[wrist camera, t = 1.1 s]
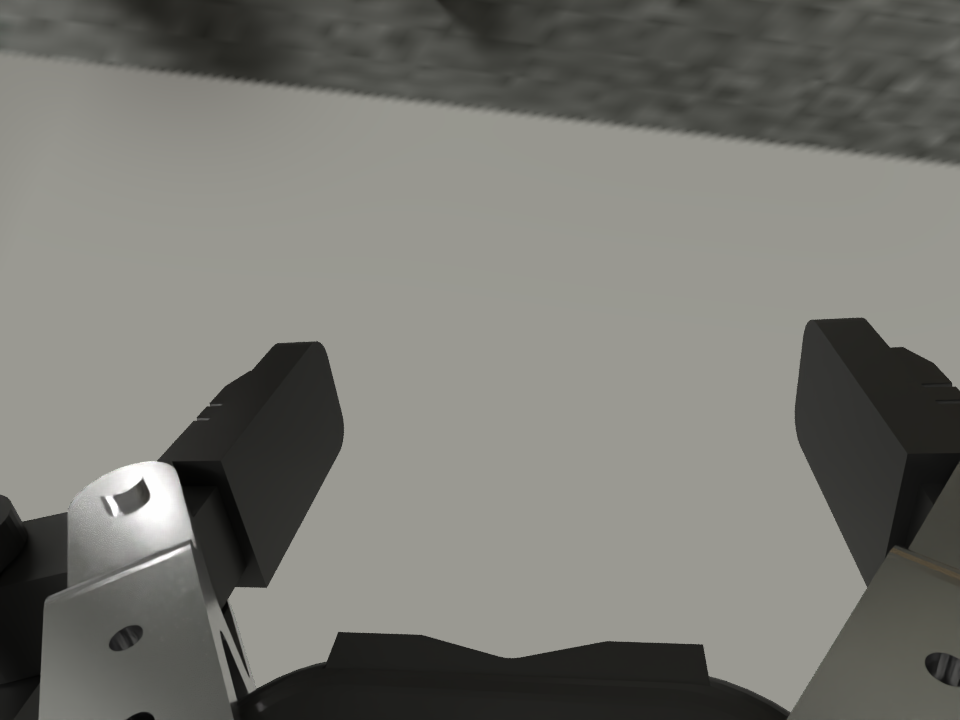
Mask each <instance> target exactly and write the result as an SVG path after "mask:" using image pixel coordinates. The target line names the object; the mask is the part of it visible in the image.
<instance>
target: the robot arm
mask: <svg viewBox="0 0 960 720" xmlns="http://www.w3.org/2000/svg"><path fill="white" fill-rule="evenodd" d="M795 425H796V432H797V437H798V441H799V444H800V446H801V448H802V451H803V452H804V454H805V457H806V459H807V461H808V463H809V465H810V467H811V470H812V472H813V474H814V476H815V478H816V480H817V482H818V484H819V486H820V489H821V491H822V493H823V495H824V497H825V499H826V501H827V503H828V505H829V507H830V509H831V512H832V514H833V516H834V518H835V520H836V522H837V524H838V526H839V529H840V531H841V533H842V535H843V537H844V539H845V541H846V543H847V545H848V547H849V549H850V552H851V554H852V556H853V558H854V560H855V562H856V564H857V567H858V568H859V571H860V573H861V575H862V577H863V579H864V581H865V583H866V586H867V589H866V591H865V592H864V594H863V595H862V597H861V599H860V601H859V602H858V604H857V605H856V607H855V609H854V610H853V612H852V613H851V615H850V617H849V618H848V620H847V622H846V623H845V625H844V627H843V628H842V630H841V631H840V633H839V635H838V636H837V638H836V640H835V641H834V643H833V644H832V646H831V648H830V650H829V651H828V653H827V654H826V656H825V658H824V659H823V661H822V662H821V664H820V666H819V667H818V669H817V671H816V672H815V674H814V676H813V677H812V679H811V681H810V682H809V684H808V685H807V687H806V689H805V690H804V692H803V694H802V695H801V697H800V698H799V700H798V702H797V703H796V705H795V707H794V708H793V710H792V711H791V712H789V711H787V710H786V709H784V708H783V707H781V706H779V705H778V704H776V703H774V702H773V701H771V700H768V699H766V698H765V697H763V696H761V695H758V694H756V693H754V692H752V691H750V690H748V689H745V688H743V687H740V686H738V685H735V684H732V683H730V682H727V681H724V680H720V679H717V678H713V677H710V676H708V671H707V665H706V659H705V654H704V648H703V645H699V644H698V645H697V644H670V643H640V642H611V641H607V642H600V643H595V644H590V645H584V646H580V647H574V648H568V649H563V650H558V651H553V652H547V653H542V654H537V655H532V656H526V657H521V658H503V657H498V656H495V655H491V654H488V653H484V652H481V651H477V650H473V649H470V648H466V647H463V646H459V645H456V644H452V643H448V642H445V641H441V640H438V639H434V638H431V637H427V636H423V635H408V634H378V633H349V632H347V633H346V632H338V634H337V637H336V640H335V642H334V645H333V647H332V650H331V653H330V655H329V658H328V660H327V662H323V663H319V664H315V665H311V666H308V667H305V668H301V669H298V670H296V671H293V672H291V673H288V674H286V675H283V676H281V677H279V678H276V679H274V680H273V681H271V682H269V683H267V684H265V685H263V686H261V687H259V688H257V689H256V686H255V682H254V679H253V676H252V672H251V669H250V666H249V662H248V659H247V656H246V652H245V649H244V646H243V643H242V639H241V636H240V633H239V629H238V626H237V622H236V619H235V616H234V613H233V610H232V608H231V605H230V603H229V600H228V598H229V596H230V595H231V593H232V591H233V589H234V588H235V587H260V588H261V587H262V588H267V586H268V584H269V583H270V581H271V579H272V577H273V575H274V573H275V571H276V570H277V568H278V566H279V564H280V562H281V560H282V558H283V556H284V555H285V552H286V551H287V549H288V547H289V545H290V543H291V541H292V539H293V538H294V536H295V534H296V532H297V530H298V528H299V527H300V525H301V523H302V521H303V519H304V517H305V515H306V514H307V512H308V510H309V508H310V506H311V504H312V502H313V500H314V498H315V497H316V495H317V493H318V491H319V489H320V487H321V486H322V484H323V482H324V480H325V478H326V476H327V474H328V472H329V470H330V469H331V467H332V465H333V463H334V461H335V459H336V457H337V456H338V453H339V452H340V449H341V447H342V442H343V436H344V423H343V416H342V412H341V408H340V404H339V400H338V396H337V392H336V388H335V384H334V380H333V376H332V372H331V368H330V364H329V360H328V356H327V353H326V350H325V348H324V346H323V345H322V344H321V343H320V342H295V343H277V344H275V345H274V346H273V347H272V348H271V349H270V351H269V352H268V353H267V354H266V355H265V356H264V357H263V358H262V360H261V361H260V362H259V363H258V364H257V365H256V367H255V368H254V369H253V370H252V371H249V372H247V373H246V374H244V375H243V376H241V377H239V378H238V379H236V380H234V381H233V382H231V383H230V384H228V385H227V386H225V387H224V388H223V389H222V390H221V392H220V393H219V394H218V395H217V396H216V397H215V398H214V399H213V400H212V402H211V403H210V407H206V408H205V409H204V410H203V411H202V412H201V413H200V415H199V416H198V417H197V421H193V422H192V423H191V424H190V426H189V427H188V428H187V429H186V430H185V431H184V432H183V433H182V434H181V435H180V436H179V438H178V439H177V440H176V441H175V442H174V443H173V444H172V445H171V446H170V447H169V449H168V450H167V451H166V452H165V453H164V454H163V455H162V456H161V457H160V458H159V459H158V460H157V462H143V463H136V464H132V465H128V466H125V467H122V468H119V469H117V470H114V471H112V472H110V473H107V474H105V475H103V476H102V477H100V478H98V479H96V480H95V481H93V482H92V483H91V484H89V485H88V486H86V487H85V488H84V489H83V490H81V491H80V492H79V493H78V494H77V495H76V497H75V498H74V499H73V501H72V502H71V504H70V506H69V508H68V512H66V513H61V514H56V515H52V516H47V517H42V518H38V519H33V520H29V521H24V522H22V521H21V519H20V517H19V515H18V514H17V512H16V510H15V508H14V507H13V505H12V503H11V501H10V500H9V499H8V498H7V497H5V496H3V495H0V720H960V391H959V390H958V389H957V387H952V382H951V381H950V380H949V379H948V378H947V377H946V376H945V375H944V374H943V373H942V372H941V371H940V370H939V368H938V367H937V366H936V365H935V364H934V363H932V362H930V361H928V360H927V359H925V358H923V357H921V356H919V355H917V354H915V353H913V352H911V351H909V350H907V349H905V348H904V347H895V348H890V347H889V346H888V345H887V344H886V343H885V341H884V340H883V339H882V338H881V337H880V335H879V334H878V333H877V332H876V331H875V330H874V328H873V327H872V326H871V325H870V324H869V323H868V322H867V320H866V319H864V318H844V319H822V320H810V321H809V322H808V323H807V325H806V327H805V331H804V336H803V343H802V353H801V361H800V369H799V378H798V386H797V395H796V403H795Z"/></svg>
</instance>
